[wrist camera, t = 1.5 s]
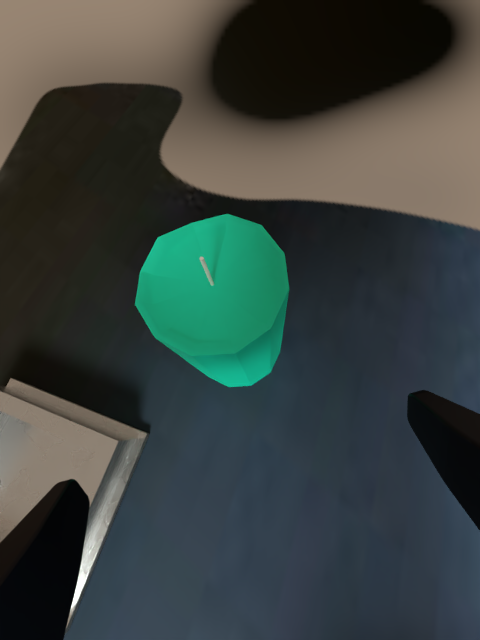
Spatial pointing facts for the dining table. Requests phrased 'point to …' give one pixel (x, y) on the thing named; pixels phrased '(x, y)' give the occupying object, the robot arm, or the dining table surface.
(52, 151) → the dining table surface
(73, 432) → the white tray
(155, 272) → the candle
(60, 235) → the dining table surface
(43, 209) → the dining table surface
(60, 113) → the dining table surface
